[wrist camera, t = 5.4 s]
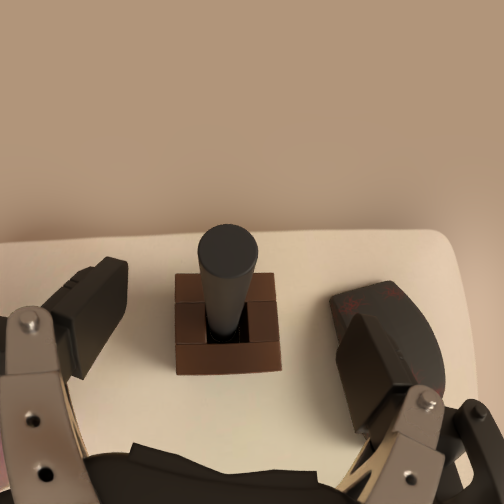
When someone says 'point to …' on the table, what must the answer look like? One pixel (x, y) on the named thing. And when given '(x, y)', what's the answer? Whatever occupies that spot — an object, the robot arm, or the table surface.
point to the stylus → (226, 276)
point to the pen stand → (250, 331)
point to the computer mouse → (395, 328)
